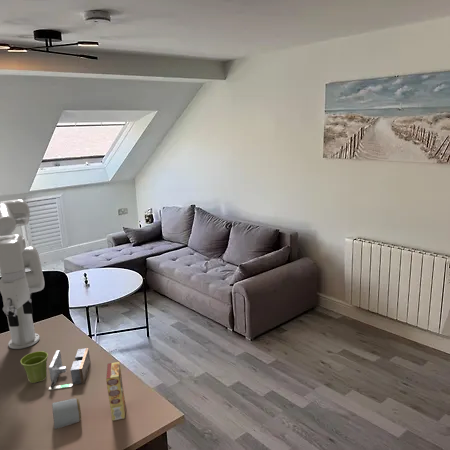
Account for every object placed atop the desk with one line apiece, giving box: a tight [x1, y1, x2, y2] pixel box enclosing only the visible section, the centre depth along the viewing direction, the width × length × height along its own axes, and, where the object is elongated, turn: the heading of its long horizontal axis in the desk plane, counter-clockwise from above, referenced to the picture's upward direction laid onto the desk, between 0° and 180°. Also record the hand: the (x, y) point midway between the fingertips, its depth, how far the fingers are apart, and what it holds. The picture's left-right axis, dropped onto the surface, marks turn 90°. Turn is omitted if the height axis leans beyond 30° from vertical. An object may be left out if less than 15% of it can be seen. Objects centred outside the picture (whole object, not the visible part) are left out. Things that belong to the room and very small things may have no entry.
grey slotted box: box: [48, 347, 91, 391], centre depth 156 cm, size 12×16×6 cm
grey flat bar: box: [48, 349, 68, 388], centre depth 155 cm, size 4×14×7 cm, turn 9°
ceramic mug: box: [51, 398, 82, 430], centre depth 132 cm, size 11×8×8 cm
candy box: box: [105, 361, 126, 422], centre depth 134 cm, size 9×4×15 cm, turn 13°
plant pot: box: [20, 350, 49, 384], centre depth 155 cm, size 9×9×9 cm
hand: (21, 319), depth 149 cm, fingers open, 9 cm apart
